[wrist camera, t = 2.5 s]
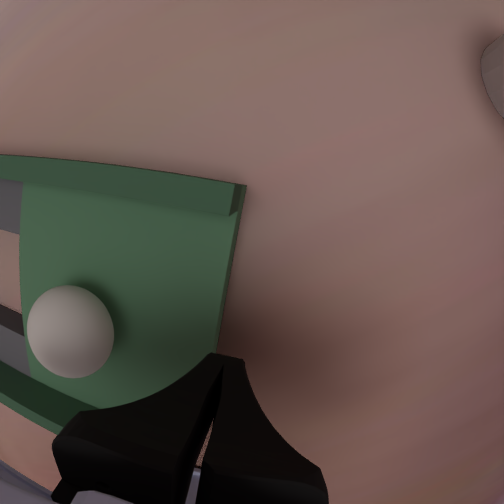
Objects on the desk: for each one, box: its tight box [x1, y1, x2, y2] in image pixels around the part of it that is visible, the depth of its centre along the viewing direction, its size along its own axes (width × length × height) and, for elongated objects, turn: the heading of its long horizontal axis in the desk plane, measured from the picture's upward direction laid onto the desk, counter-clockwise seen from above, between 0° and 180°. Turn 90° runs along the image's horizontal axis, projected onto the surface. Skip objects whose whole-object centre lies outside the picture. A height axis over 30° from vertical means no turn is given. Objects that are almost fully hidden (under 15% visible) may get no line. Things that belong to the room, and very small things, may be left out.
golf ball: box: [27, 285, 114, 378], centre depth 12 cm, size 4×4×4 cm
